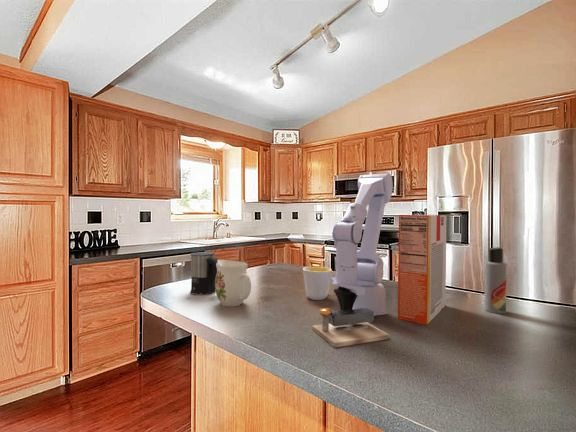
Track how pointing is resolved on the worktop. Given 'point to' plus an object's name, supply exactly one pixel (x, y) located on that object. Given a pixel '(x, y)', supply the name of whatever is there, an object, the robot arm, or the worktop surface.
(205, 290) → the milk frother
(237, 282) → the pitcher
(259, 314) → the worktop surface
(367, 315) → the swing bar
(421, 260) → the cereal box
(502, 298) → the lotion bottle
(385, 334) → the tan piece
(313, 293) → the mug
